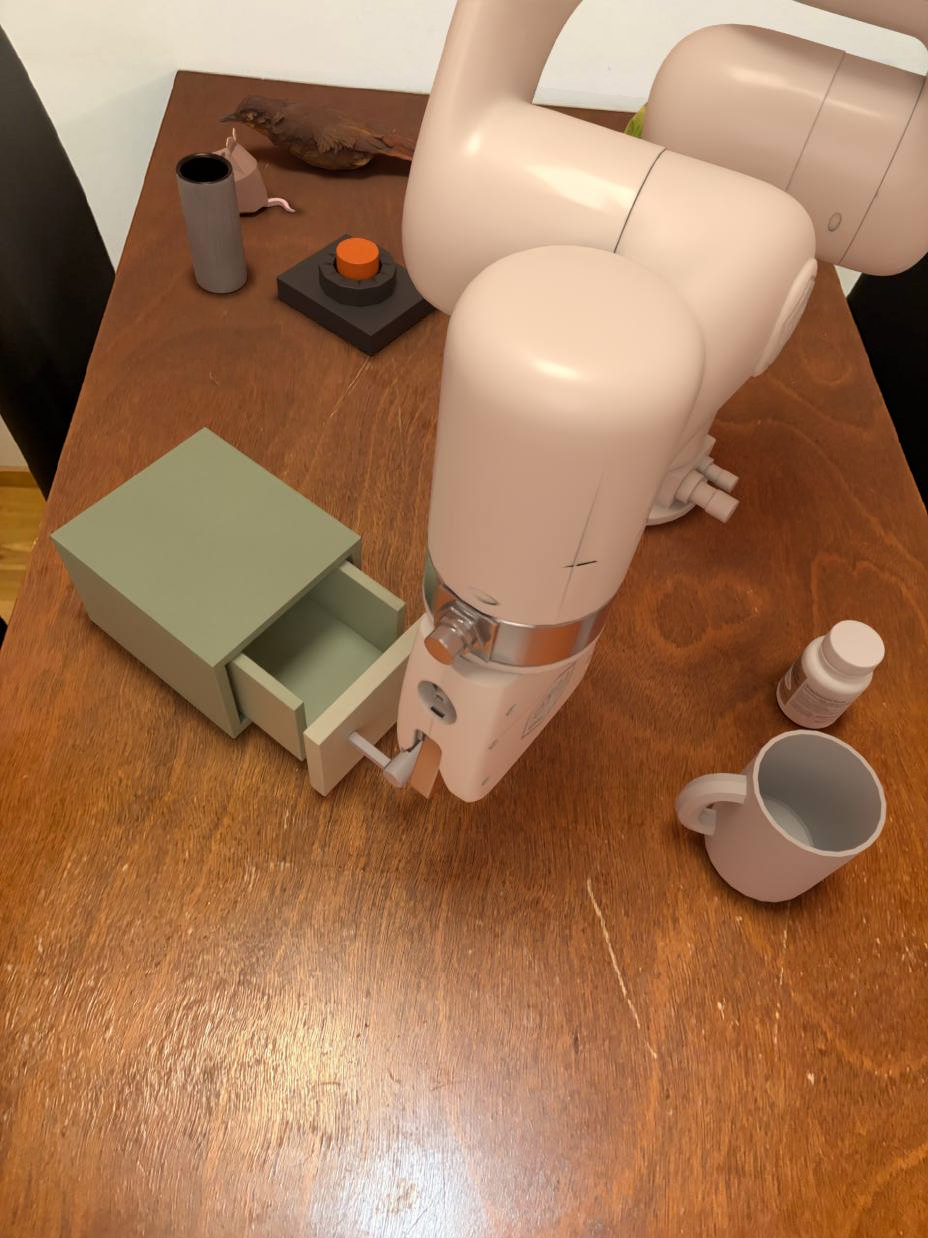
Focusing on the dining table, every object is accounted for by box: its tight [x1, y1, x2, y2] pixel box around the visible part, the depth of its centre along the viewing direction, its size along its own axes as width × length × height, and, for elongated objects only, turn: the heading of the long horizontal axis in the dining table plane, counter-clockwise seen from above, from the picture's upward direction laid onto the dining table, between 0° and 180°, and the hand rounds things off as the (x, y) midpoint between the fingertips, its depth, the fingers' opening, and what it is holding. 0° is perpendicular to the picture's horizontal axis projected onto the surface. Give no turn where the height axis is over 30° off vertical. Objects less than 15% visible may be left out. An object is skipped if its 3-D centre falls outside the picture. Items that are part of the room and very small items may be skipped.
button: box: [336, 237, 379, 280], centre depth 76 cm, size 4×4×2 cm
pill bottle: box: [776, 619, 886, 729], centre depth 58 cm, size 4×4×8 cm
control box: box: [275, 233, 437, 357], centre depth 78 cm, size 11×9×4 cm
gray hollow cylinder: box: [174, 152, 248, 294], centre depth 76 cm, size 4×4×10 cm
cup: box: [674, 729, 887, 903], centre depth 51 cm, size 7×10×9 cm
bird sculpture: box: [216, 94, 417, 171], centre depth 90 cm, size 7×25×5 cm, turn 92°
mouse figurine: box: [212, 127, 296, 215], centre depth 84 cm, size 5×8×7 cm, turn 80°
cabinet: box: [49, 426, 363, 740], centre depth 57 cm, size 14×12×9 cm
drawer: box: [225, 560, 424, 797], centre depth 54 cm, size 17×11×7 cm, turn 52°
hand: (473, 767), depth 50 cm, fingers closed
